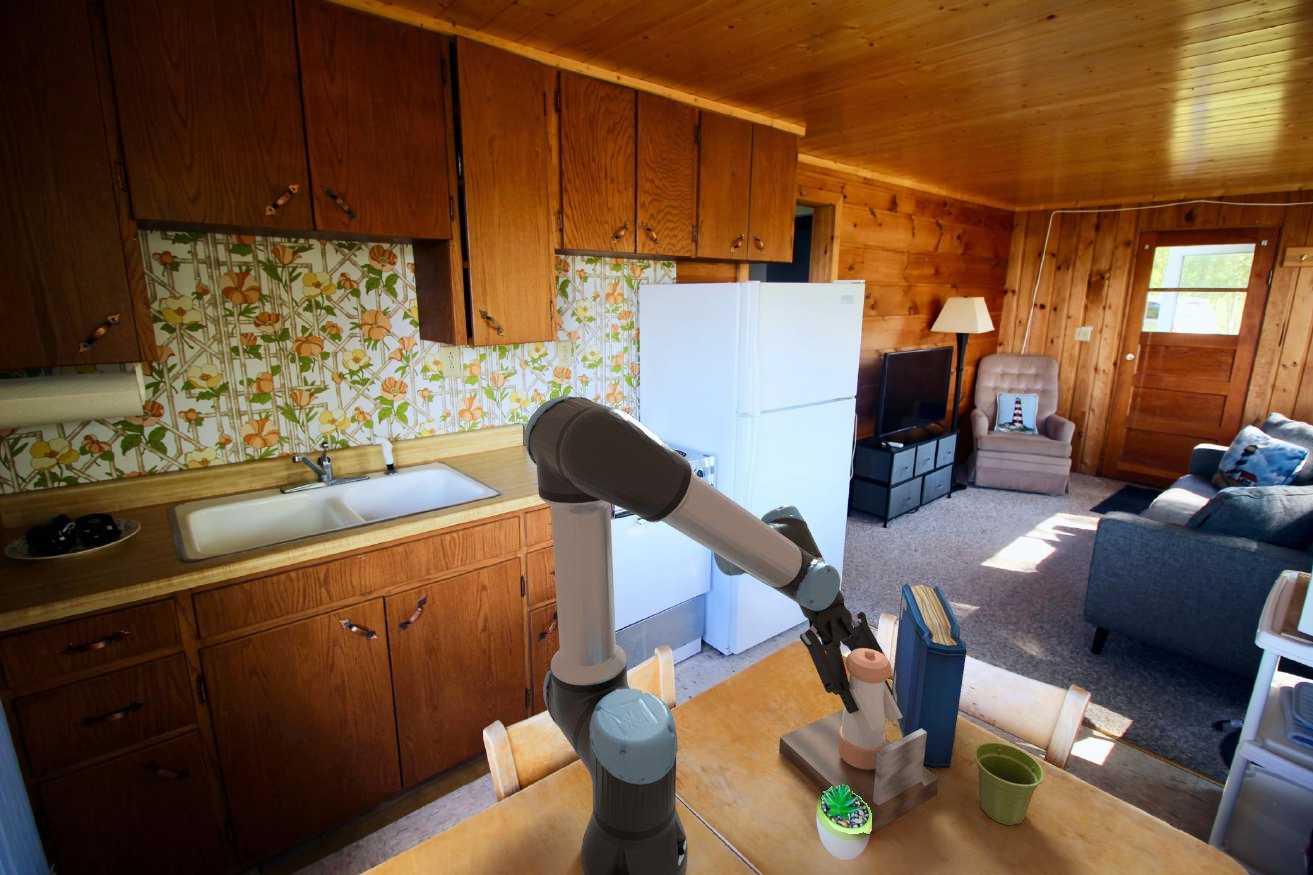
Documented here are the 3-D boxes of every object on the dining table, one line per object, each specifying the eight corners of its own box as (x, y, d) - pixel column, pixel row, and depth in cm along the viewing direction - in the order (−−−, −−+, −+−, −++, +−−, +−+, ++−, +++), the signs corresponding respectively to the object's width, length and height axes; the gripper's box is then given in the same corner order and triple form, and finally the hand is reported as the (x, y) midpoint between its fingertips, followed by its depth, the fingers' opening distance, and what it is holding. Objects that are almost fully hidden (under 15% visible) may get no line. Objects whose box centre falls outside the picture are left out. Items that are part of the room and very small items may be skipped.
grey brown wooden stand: (867, 835, 92) (874, 766, 89) (779, 751, 109) (782, 691, 106) (937, 794, 99) (945, 729, 97) (844, 721, 116) (848, 665, 114)
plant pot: (970, 778, 103) (976, 733, 101) (1036, 801, 98) (1043, 755, 96) (965, 818, 95) (971, 770, 93) (1036, 845, 90) (1044, 795, 88)
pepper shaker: (838, 765, 100) (847, 659, 96) (836, 735, 107) (844, 635, 102) (886, 773, 98) (896, 666, 94) (881, 742, 105) (891, 641, 101)
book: (956, 779, 103) (973, 644, 97) (911, 772, 104) (925, 639, 98) (927, 698, 123) (940, 583, 118) (890, 694, 125) (901, 580, 119)
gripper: (841, 585, 115) (906, 712, 105) (763, 609, 106) (826, 750, 96) (865, 569, 109) (936, 702, 99) (785, 593, 101) (854, 741, 90)
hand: (882, 725), depth 98 cm, fingers closed on pepper shaker, 5 cm apart
